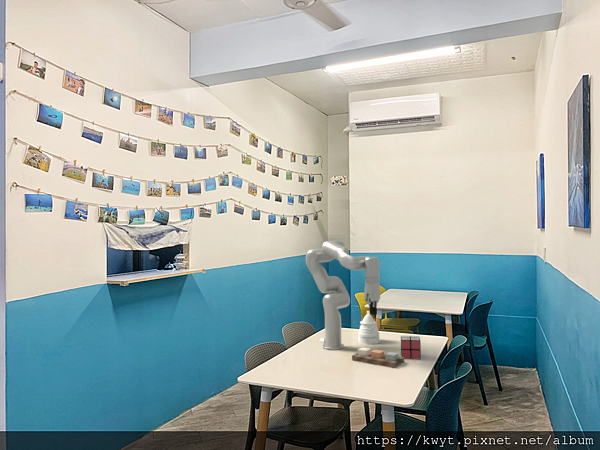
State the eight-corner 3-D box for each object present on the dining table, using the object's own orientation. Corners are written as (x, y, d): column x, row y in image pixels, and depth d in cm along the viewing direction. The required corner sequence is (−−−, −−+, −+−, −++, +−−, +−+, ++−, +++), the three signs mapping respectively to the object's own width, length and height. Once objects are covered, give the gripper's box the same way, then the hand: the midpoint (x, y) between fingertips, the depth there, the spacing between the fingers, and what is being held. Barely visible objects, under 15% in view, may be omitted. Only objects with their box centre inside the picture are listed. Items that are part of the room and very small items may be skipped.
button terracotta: (371, 357, 237) (371, 351, 237) (375, 355, 241) (375, 349, 241) (379, 358, 234) (379, 353, 234) (384, 356, 238) (384, 350, 238)
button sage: (385, 359, 232) (385, 353, 232) (389, 357, 236) (389, 351, 236) (394, 361, 229) (394, 355, 229) (398, 359, 233) (398, 353, 233)
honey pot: (360, 338, 288) (360, 309, 289) (381, 339, 284) (380, 310, 284) (356, 343, 276) (355, 313, 277) (377, 344, 272) (376, 314, 272)
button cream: (357, 355, 242) (357, 349, 242) (362, 353, 246) (362, 347, 246) (366, 356, 239) (366, 350, 239) (370, 354, 243) (370, 348, 243)
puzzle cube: (420, 359, 239) (420, 340, 240) (401, 358, 241) (400, 339, 242) (419, 354, 249) (419, 336, 249) (401, 353, 251) (400, 335, 251)
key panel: (352, 360, 240) (351, 355, 240) (363, 355, 249) (363, 350, 249) (393, 368, 225) (393, 363, 225) (404, 362, 235) (404, 357, 235)
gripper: (373, 278, 253) (373, 311, 253) (359, 281, 241) (359, 315, 241) (385, 279, 248) (386, 312, 248) (371, 281, 237) (372, 317, 236)
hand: (373, 314), depth 245 cm, fingers closed
